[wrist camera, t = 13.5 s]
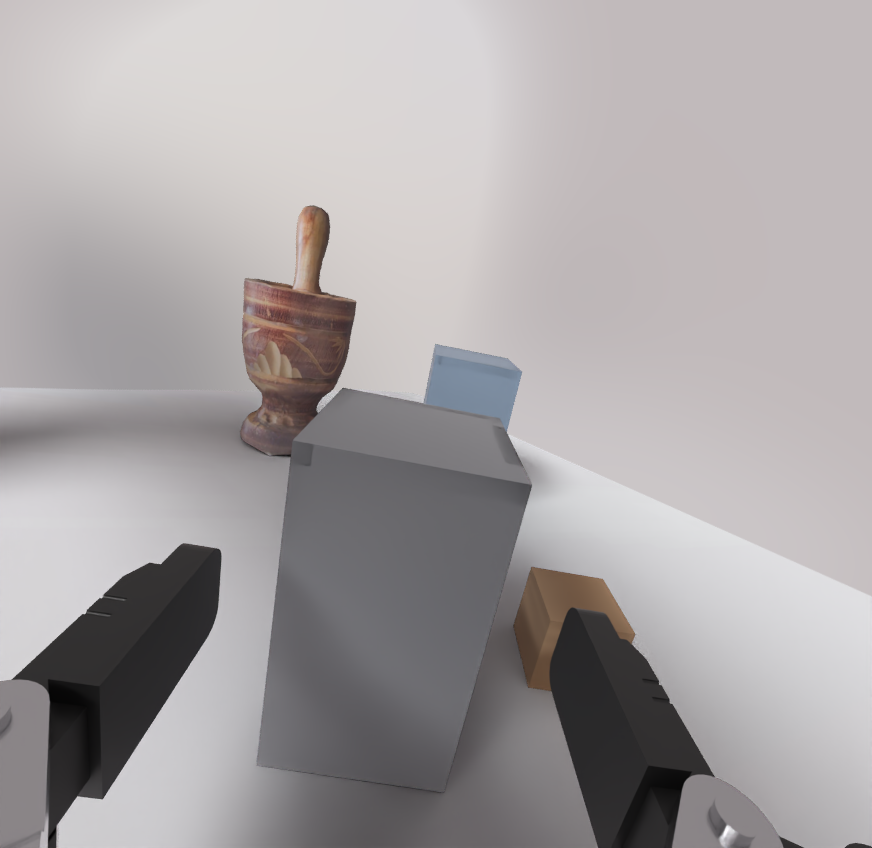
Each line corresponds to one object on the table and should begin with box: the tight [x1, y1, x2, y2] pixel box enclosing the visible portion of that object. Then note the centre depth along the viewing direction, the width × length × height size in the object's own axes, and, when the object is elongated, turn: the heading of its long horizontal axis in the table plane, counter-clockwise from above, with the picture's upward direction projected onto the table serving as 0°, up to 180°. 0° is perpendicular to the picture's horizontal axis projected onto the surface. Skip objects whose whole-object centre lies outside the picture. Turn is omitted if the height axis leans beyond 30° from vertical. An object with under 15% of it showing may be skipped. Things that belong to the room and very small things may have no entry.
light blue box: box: [424, 344, 522, 432], centre depth 34 cm, size 6×6×11 cm
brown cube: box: [514, 567, 635, 691], centre depth 20 cm, size 4×4×4 cm
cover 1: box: [257, 388, 532, 792], centre depth 15 cm, size 6×6×11 cm
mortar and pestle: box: [240, 206, 356, 456], centre depth 38 cm, size 12×9×20 cm
